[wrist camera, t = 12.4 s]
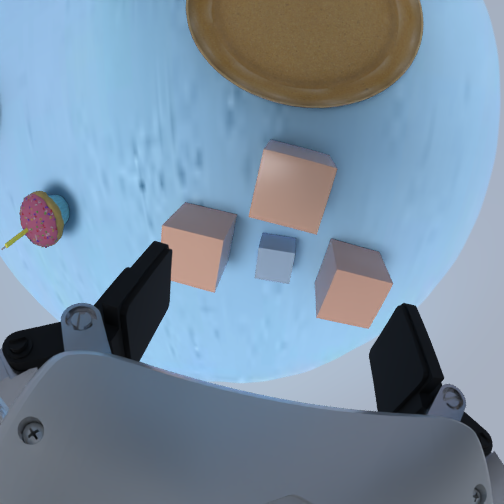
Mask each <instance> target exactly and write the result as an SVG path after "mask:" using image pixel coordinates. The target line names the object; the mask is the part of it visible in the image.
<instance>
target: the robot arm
mask: <svg viewBox="0 0 504 504" xmlns="http://www.w3.org/2000/svg"><path fill="white" fill-rule="evenodd" d="M172 253H173V251H172V249H169V245H168V244H165V243H161V242H157V241H154V242H153V243H152V244H151V245H150V246H149V247H148V248H147V249H146V251H145V252H144V253H143V254H142V255H141V256H140V257H139V259H138V260H137V261H136V262H135V263H134V264H133V266H132V267H131V268H130V267H127V268H125V269H124V270H123V271H122V273H121V274H120V275H119V276H118V277H117V278H116V280H115V281H114V282H113V283H112V284H111V285H110V287H109V288H108V289H107V290H106V291H105V293H104V294H103V295H102V296H101V297H100V299H99V300H98V301H97V302H96V303H95V305H94V306H93V305H91V304H87V303H78V304H74V305H72V306H70V307H68V308H67V309H66V310H65V311H64V312H63V314H62V316H61V322H58V323H54V324H49V325H45V326H40V327H35V328H31V329H26V330H21V331H17V332H14V333H12V334H11V335H9V336H8V337H7V338H6V339H5V341H4V343H3V346H2V349H0V504H504V465H503V463H502V462H501V460H500V459H499V457H498V456H497V454H496V453H495V452H493V453H491V450H492V439H491V436H490V435H489V433H488V432H487V431H486V430H485V429H483V428H482V427H481V426H480V425H479V424H478V423H477V422H476V421H474V420H473V419H472V418H471V417H470V416H469V415H468V414H466V413H465V412H464V410H465V407H466V400H465V397H464V395H463V393H462V392H461V391H460V390H459V389H458V388H456V386H454V385H451V384H445V385H443V386H442V383H441V382H442V381H443V379H444V376H443V373H442V370H441V368H440V365H439V362H438V359H437V357H436V354H435V351H434V349H433V346H432V343H431V341H430V338H429V336H428V333H427V331H426V328H425V326H424V324H423V321H422V319H421V317H420V314H419V312H418V310H417V307H416V306H414V305H410V304H406V303H403V304H401V306H397V308H396V309H395V311H394V313H393V314H392V316H391V318H390V319H389V321H388V323H387V324H386V326H385V328H384V329H383V331H382V332H381V334H380V335H379V337H378V339H377V340H376V342H375V343H374V345H373V346H372V348H371V350H370V353H369V359H370V365H371V370H372V376H373V382H374V389H375V395H376V402H377V409H378V412H376V411H375V412H374V411H364V410H354V409H344V408H337V407H328V406H321V405H315V404H308V403H302V402H296V401H290V400H284V399H279V398H274V397H269V396H264V395H259V394H255V393H250V392H246V391H241V390H237V389H233V388H228V387H225V386H221V385H216V384H213V383H209V382H205V381H202V380H198V379H195V378H191V377H188V376H184V375H181V374H177V373H174V372H170V371H167V370H164V369H161V368H157V367H154V366H151V365H148V364H145V363H142V362H139V361H140V359H141V357H142V355H143V354H144V352H145V350H146V348H147V346H148V344H149V342H150V341H151V339H152V337H153V335H154V333H155V331H156V329H157V328H158V326H159V324H160V322H161V320H162V319H163V317H164V315H165V313H166V311H167V309H168V307H169V302H170V284H171V267H172Z"/></svg>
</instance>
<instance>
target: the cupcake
mask: <svg viewBox="0 0 504 504" xmlns="http://www.w3.org/2000/svg"><path fill="white" fill-rule="evenodd" d="M68 218H69V207H68V205H67V203H66V201H65V200H64V198H62V197H61V196H59V195H49V196H48V195H47V193H46V192H43V191H36V192H33V193H31V194H30V195H28V196H26V197H25V198H24V201H23V202H22V206H21V207H20V220H21V226H22V228H23V231H21V232H20V233H19V234H17V235H16V236H15V237H13V238H12V239H11V240H9V241H8V242H7V243H6V244H5V246H4V247H3V248H2V250H3V249H4V248H5V247H6V248H8V247H9V246H10V245H12V244H13V243H14V242H16V241H17V240H18V239H19V238H21V237H22V236H23V235H26V236H27V237H28V239H30V241H32V242H33V244H37V245H39V246H42V247H45V248H47V247H49V246H52V245H54V244H55V243H57V241H58V240H59V239H60V238H61V237H62V234H63V228H64V225H65V223H66V222H67V220H68Z"/></svg>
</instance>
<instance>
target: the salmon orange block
mask: <svg viewBox="0 0 504 504" xmlns="http://www.w3.org/2000/svg"><path fill="white" fill-rule="evenodd" d="M392 285H393V282H392V280H391V278H390V275H389V273H388V271H387V268H386V266H385V264H384V262H383V259H382V257H381V255H380V253H379V252H377V251H374V250H370V249H367V248H363V247H360V246H356V245H352V244H349V243H345V242H341V241H338V240H334V239H331V240H330V243H329V246H328V248H327V251H326V254H325V257H324V259H323V262H322V265H321V267H320V270H319V273H318V275H317V278H316V281H315V296H316V318H320V319H325V320H329V321H334V322H339V323H343V324H348V325H353V326H358V327H363V328H368V329H369V327H370V325H371V324H372V322H373V320H374V318H375V317H376V315H377V313H378V311H379V309H380V308H381V306H382V304H383V302H384V300H385V298H386V296H387V295H388V293H389V291H390V289H391V287H392Z"/></svg>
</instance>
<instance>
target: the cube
mask: <svg viewBox="0 0 504 504" xmlns="http://www.w3.org/2000/svg"><path fill="white" fill-rule="evenodd" d="M295 246H296V238H293V237H287V236H281V235H274V234H268V233H262V237H261V241H260V244H259V248H258V256H257V264H256V272H255V278H256V279H262V280H268V281H274V282H281V283H287V284H289V282H290V277H291V272H292V267H293V262H294V257H295Z"/></svg>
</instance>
